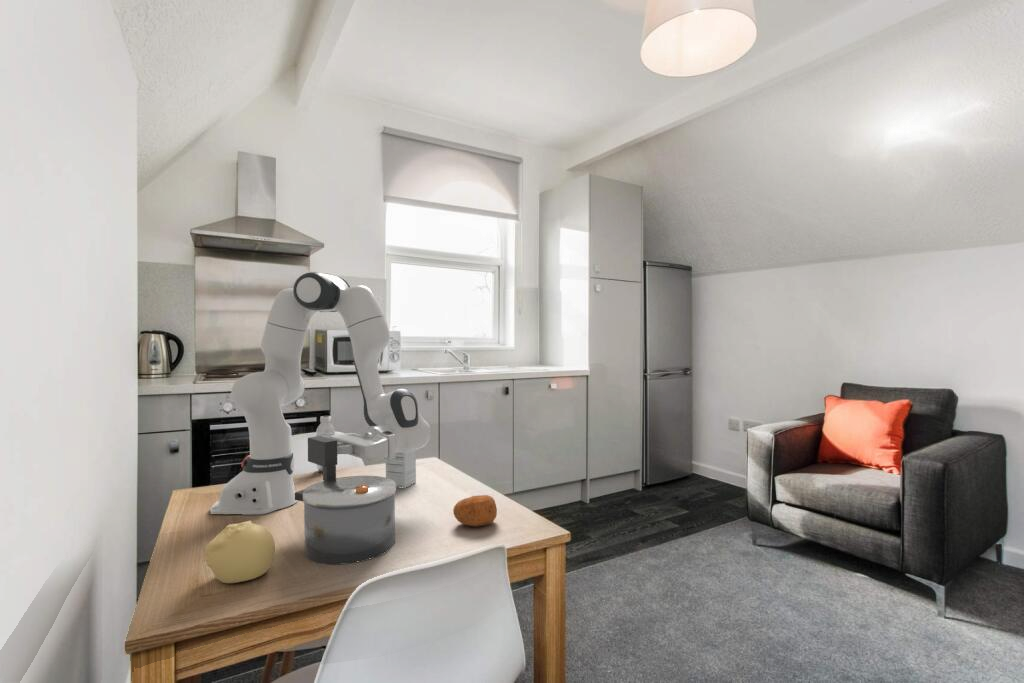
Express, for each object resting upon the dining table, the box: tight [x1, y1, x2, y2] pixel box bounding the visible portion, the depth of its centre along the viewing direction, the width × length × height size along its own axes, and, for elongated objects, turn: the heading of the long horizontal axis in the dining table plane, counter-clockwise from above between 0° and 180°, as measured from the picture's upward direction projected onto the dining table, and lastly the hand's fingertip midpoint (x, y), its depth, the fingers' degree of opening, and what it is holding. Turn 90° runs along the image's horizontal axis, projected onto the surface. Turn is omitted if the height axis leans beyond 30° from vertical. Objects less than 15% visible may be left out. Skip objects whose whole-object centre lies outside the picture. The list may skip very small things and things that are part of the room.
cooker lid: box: [302, 435, 397, 508], centre depth 118 cm, size 28×21×11 cm
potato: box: [453, 494, 498, 528], centre depth 128 cm, size 9×11×8 cm
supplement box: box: [385, 450, 417, 489], centre depth 164 cm, size 7×7×13 cm
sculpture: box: [204, 520, 276, 584], centre depth 101 cm, size 12×12×11 cm
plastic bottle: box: [315, 415, 336, 472], centre depth 182 cm, size 6×7×20 cm
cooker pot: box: [295, 488, 396, 565], centre depth 117 cm, size 27×20×12 cm
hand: (329, 450), depth 126 cm, fingers closed
